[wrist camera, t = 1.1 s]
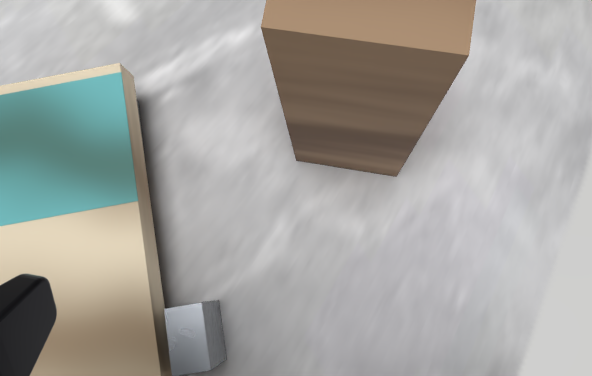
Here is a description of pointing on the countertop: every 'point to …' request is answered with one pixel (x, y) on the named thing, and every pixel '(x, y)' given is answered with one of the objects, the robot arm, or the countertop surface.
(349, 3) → the column
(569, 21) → the countertop surface
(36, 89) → the seesaw beam
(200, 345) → the seesaw stand
